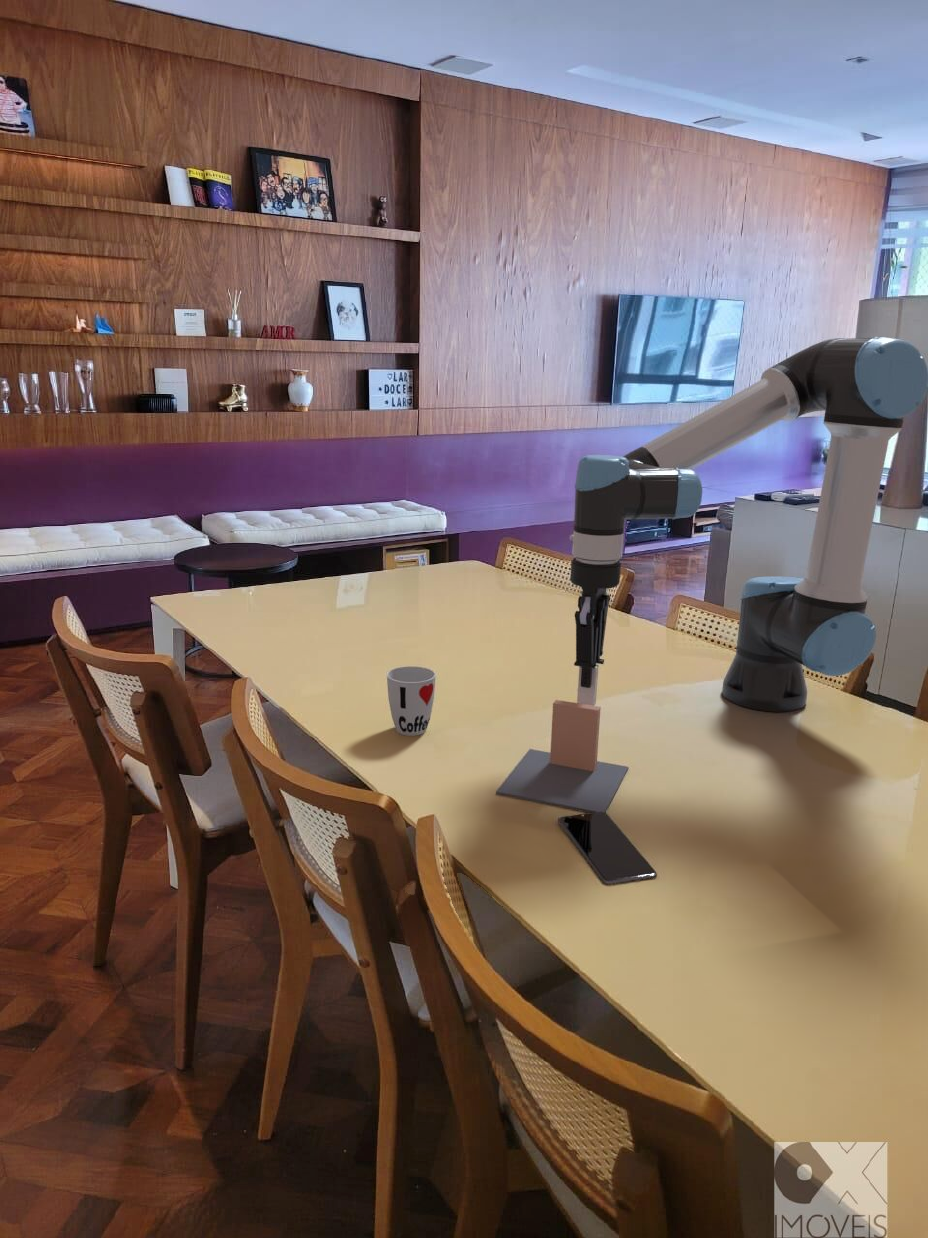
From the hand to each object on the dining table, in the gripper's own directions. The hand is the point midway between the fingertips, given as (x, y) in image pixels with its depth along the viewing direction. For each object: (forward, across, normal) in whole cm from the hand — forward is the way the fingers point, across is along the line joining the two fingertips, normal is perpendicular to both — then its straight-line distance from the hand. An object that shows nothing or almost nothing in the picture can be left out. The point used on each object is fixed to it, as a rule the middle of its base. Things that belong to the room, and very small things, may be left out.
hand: (586, 703), depth 145 cm
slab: (+8, +7, 0) cm, 10 cm away
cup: (+9, +4, -29) cm, 30 cm away
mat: (+8, +12, 0) cm, 14 cm away
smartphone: (+9, +28, +10) cm, 31 cm away
